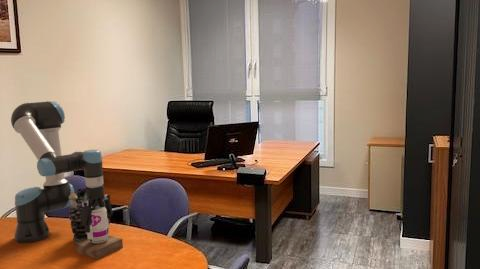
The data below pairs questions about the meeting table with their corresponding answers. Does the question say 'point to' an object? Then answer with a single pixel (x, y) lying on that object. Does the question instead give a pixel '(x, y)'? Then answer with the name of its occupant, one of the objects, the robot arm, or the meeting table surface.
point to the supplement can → (99, 225)
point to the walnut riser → (99, 247)
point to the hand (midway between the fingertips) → (98, 235)
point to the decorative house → (77, 215)
